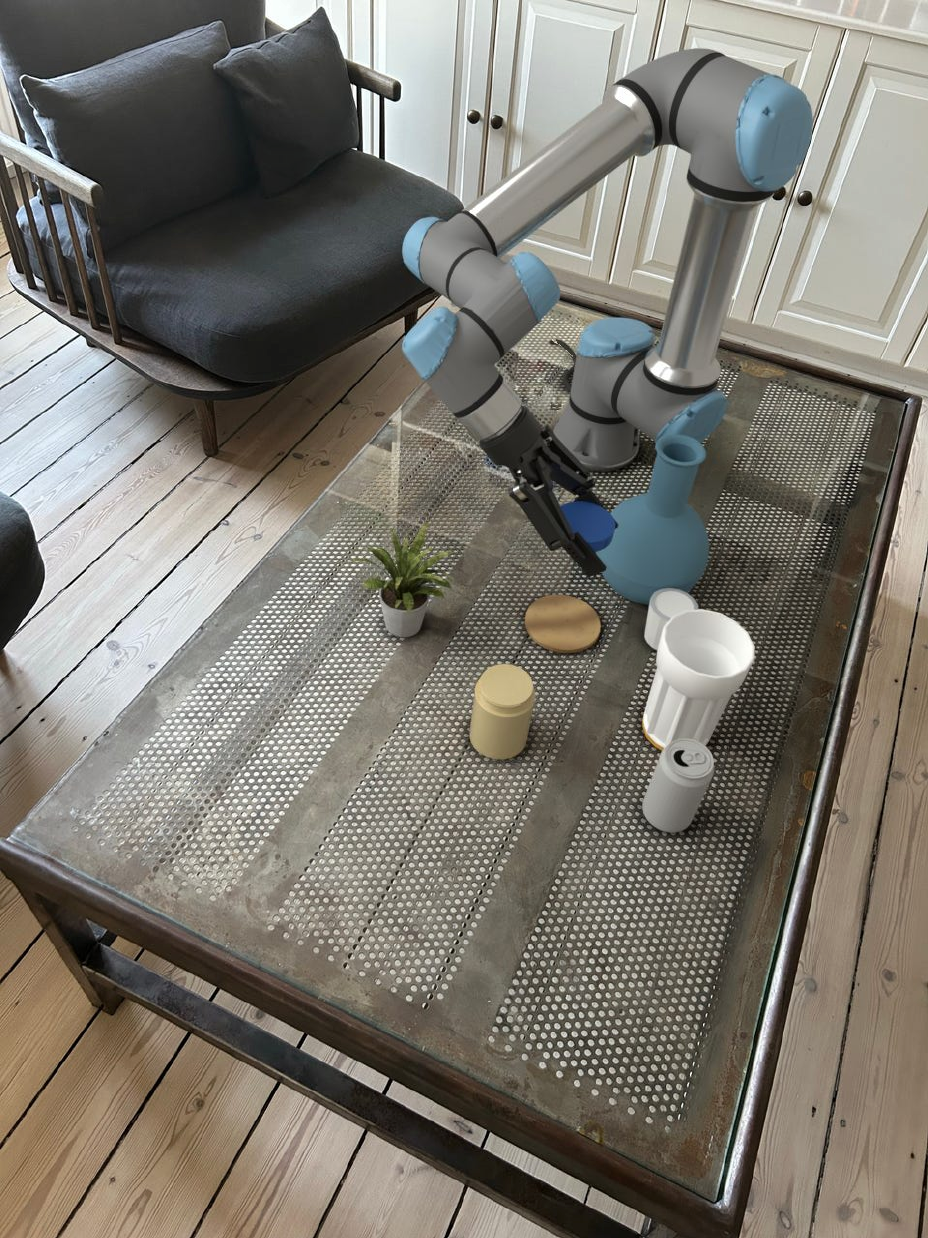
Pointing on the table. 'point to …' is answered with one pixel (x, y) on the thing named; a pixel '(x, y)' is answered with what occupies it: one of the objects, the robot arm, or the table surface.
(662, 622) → the shot glass
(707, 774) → the beverage can
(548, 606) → the coaster
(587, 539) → the jar lid
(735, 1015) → the table surface
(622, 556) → the vase
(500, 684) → the jar
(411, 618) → the house plant
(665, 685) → the cup
